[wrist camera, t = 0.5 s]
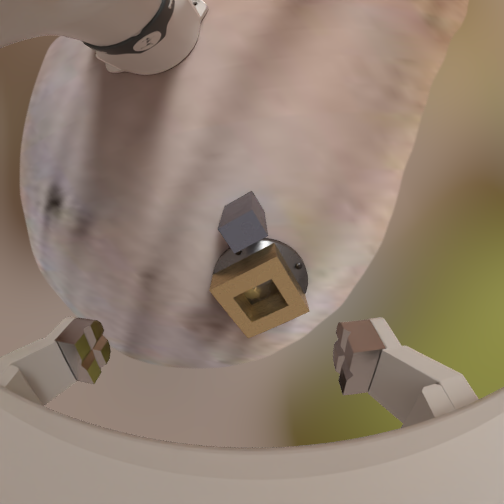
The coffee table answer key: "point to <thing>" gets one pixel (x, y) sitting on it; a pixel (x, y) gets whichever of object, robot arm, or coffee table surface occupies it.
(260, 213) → the grey rectangular block
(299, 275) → the rosette plate
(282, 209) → the coffee table surface
